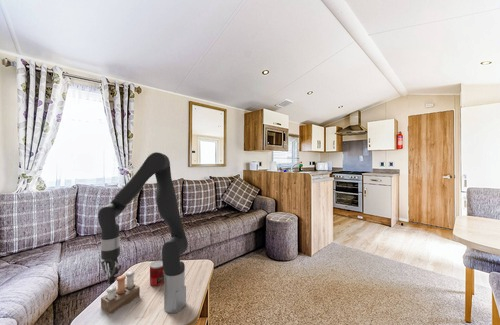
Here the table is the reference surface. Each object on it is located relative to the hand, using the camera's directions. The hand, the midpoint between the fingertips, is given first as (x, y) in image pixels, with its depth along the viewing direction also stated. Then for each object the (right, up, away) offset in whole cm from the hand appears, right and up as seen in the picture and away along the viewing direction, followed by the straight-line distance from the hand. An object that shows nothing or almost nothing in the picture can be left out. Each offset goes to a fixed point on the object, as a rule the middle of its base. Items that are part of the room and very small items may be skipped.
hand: (111, 282), depth 96 cm
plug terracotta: (+2, -9, +4) cm, 10 cm away
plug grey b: (+4, -9, +8) cm, 13 cm away
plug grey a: (0, -12, +1) cm, 12 cm away
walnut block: (+2, -12, +5) cm, 13 cm away
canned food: (+12, -12, +20) cm, 27 cm away
